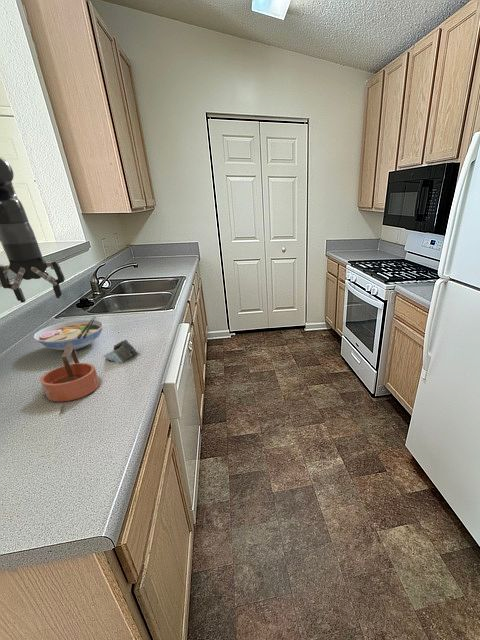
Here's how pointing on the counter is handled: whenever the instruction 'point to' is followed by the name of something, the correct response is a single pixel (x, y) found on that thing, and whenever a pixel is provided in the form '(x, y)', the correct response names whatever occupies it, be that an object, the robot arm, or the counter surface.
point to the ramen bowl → (70, 334)
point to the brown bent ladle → (65, 358)
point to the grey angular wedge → (122, 352)
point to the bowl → (73, 388)
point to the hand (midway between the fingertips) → (41, 299)
